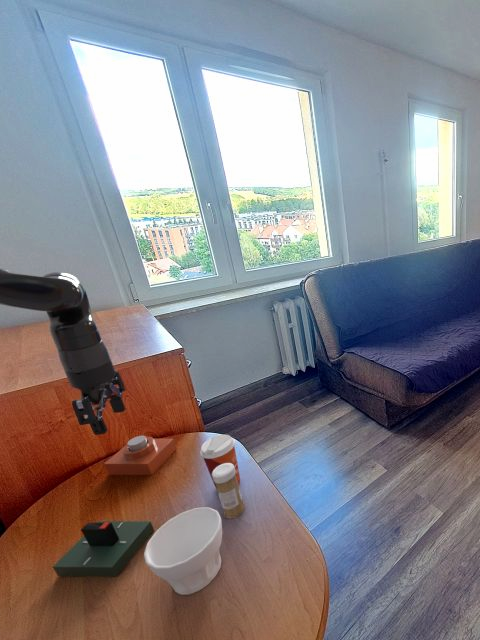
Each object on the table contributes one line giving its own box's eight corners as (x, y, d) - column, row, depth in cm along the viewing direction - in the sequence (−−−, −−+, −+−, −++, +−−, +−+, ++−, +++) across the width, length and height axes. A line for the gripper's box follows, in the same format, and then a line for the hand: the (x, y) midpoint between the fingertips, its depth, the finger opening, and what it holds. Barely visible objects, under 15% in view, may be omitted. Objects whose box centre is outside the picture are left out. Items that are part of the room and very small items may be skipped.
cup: (201, 613, 62) (186, 574, 58) (143, 600, 64) (125, 562, 60) (245, 547, 73) (235, 511, 69) (195, 538, 75) (183, 502, 71)
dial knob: (89, 546, 70) (80, 528, 69) (96, 538, 72) (87, 521, 70) (112, 546, 70) (104, 528, 69) (119, 538, 72) (111, 521, 70)
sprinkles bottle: (248, 502, 84) (237, 461, 79) (239, 519, 80) (227, 477, 75) (230, 503, 84) (218, 462, 79) (220, 520, 79) (207, 477, 75)
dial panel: (58, 576, 68) (51, 566, 66) (102, 530, 77) (98, 520, 76) (116, 577, 68) (111, 566, 66) (154, 530, 77) (150, 520, 76)
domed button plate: (108, 474, 92) (101, 458, 90) (138, 448, 101) (131, 432, 99) (151, 475, 92) (145, 458, 90) (177, 449, 101) (171, 433, 99)
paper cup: (234, 497, 85) (223, 454, 80) (205, 496, 85) (191, 454, 80) (250, 473, 93) (240, 432, 88) (223, 472, 93) (211, 432, 88)
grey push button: (125, 451, 93) (123, 445, 92) (137, 441, 96) (135, 435, 96) (140, 451, 93) (137, 445, 92) (151, 441, 96) (149, 435, 96)
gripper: (85, 351, 79) (107, 408, 85) (43, 381, 67) (73, 445, 72) (123, 347, 82) (142, 402, 87) (89, 375, 69) (115, 438, 75)
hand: (111, 422), depth 80 cm, fingers open, 8 cm apart
